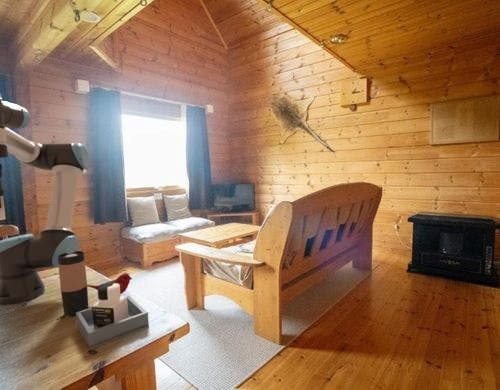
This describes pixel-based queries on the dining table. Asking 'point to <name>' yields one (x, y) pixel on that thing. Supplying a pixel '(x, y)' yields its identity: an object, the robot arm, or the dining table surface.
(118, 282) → the decorative bird figurine
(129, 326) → the open-top bin
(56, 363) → the dining table surface
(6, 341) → the dining table surface
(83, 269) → the travel mug
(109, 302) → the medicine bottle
